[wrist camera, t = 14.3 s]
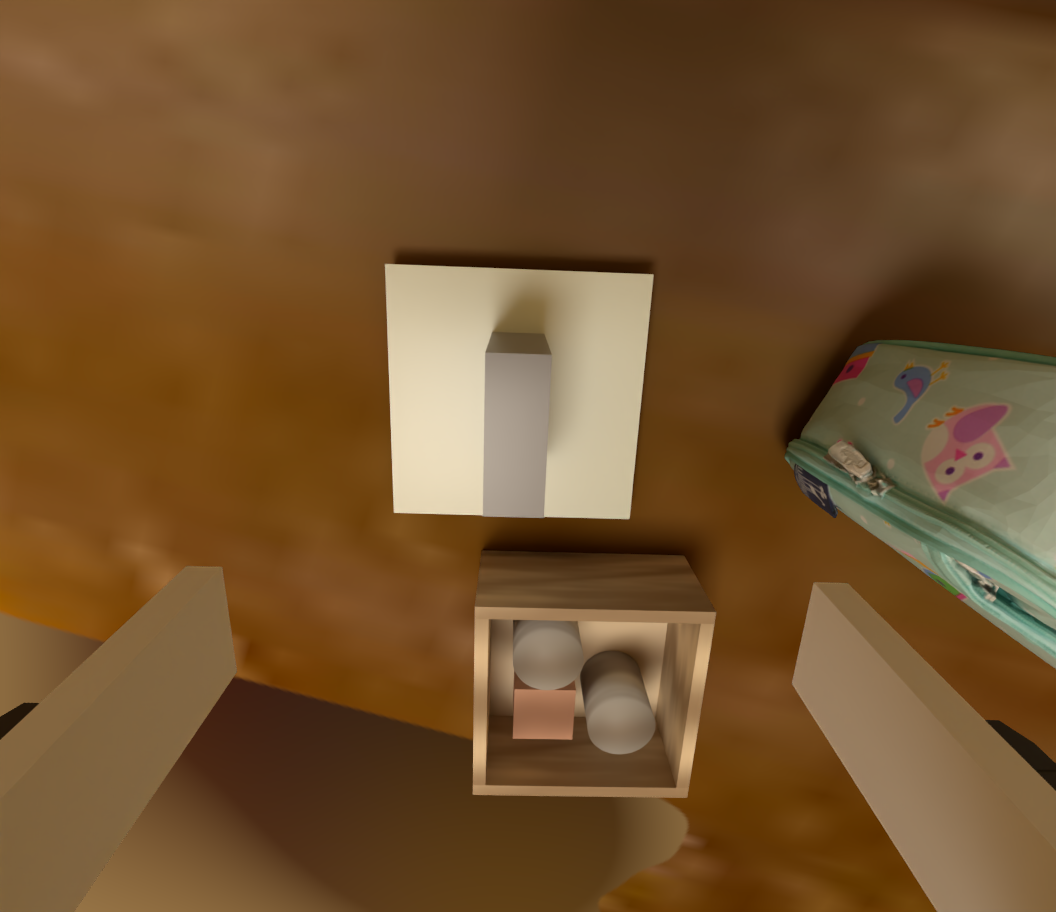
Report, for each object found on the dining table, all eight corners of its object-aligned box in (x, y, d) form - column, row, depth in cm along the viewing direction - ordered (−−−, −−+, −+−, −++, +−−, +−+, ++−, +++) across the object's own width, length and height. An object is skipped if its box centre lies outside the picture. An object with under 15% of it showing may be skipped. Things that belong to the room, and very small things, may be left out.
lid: (392, 263, 35) (345, 265, 25) (646, 273, 35) (693, 278, 26) (399, 500, 40) (363, 576, 30) (624, 506, 40) (657, 583, 31)
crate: (481, 550, 41) (474, 606, 34) (684, 555, 41) (716, 612, 35) (479, 716, 45) (472, 794, 39) (662, 719, 46) (686, 797, 39)
